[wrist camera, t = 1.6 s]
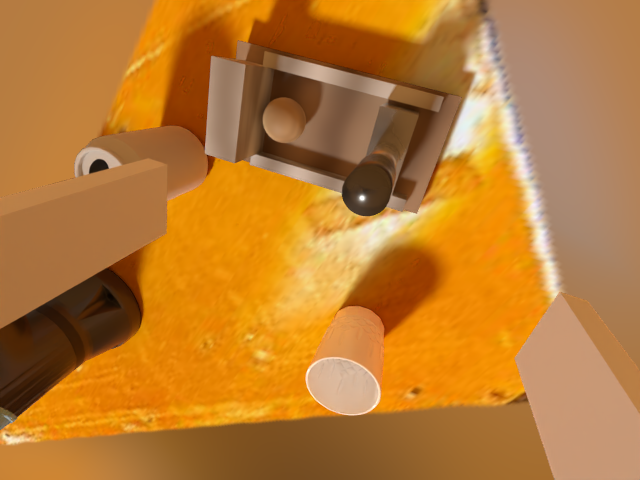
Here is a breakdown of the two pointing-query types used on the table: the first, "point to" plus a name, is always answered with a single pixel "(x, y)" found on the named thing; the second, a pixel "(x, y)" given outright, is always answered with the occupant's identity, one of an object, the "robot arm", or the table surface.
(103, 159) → the can
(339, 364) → the white cup
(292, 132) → the tan ball
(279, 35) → the table surface
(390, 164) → the ram
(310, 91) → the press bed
